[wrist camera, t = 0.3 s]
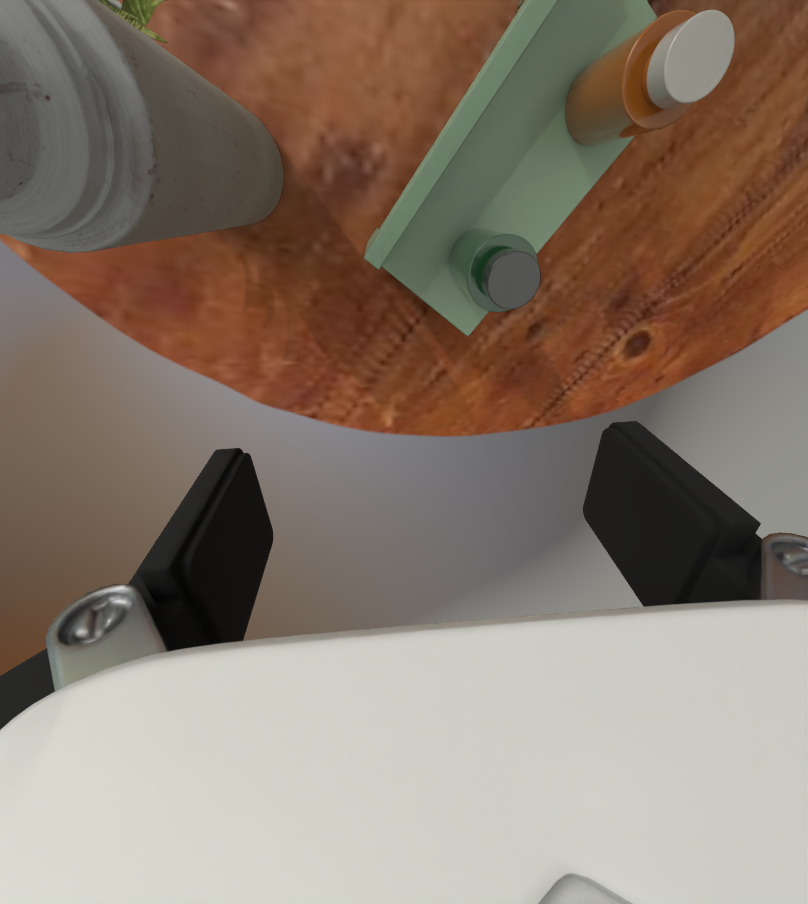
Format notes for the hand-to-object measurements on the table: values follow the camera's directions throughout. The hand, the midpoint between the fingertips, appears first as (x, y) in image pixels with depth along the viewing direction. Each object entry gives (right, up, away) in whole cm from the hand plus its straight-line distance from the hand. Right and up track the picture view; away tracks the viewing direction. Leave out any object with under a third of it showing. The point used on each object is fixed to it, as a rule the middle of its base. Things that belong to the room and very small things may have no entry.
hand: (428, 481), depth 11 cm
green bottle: (+5, +15, +18) cm, 24 cm away
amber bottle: (+11, +22, +14) cm, 29 cm away
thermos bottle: (-14, +23, +21) cm, 34 cm away
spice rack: (+6, +24, +22) cm, 33 cm away
